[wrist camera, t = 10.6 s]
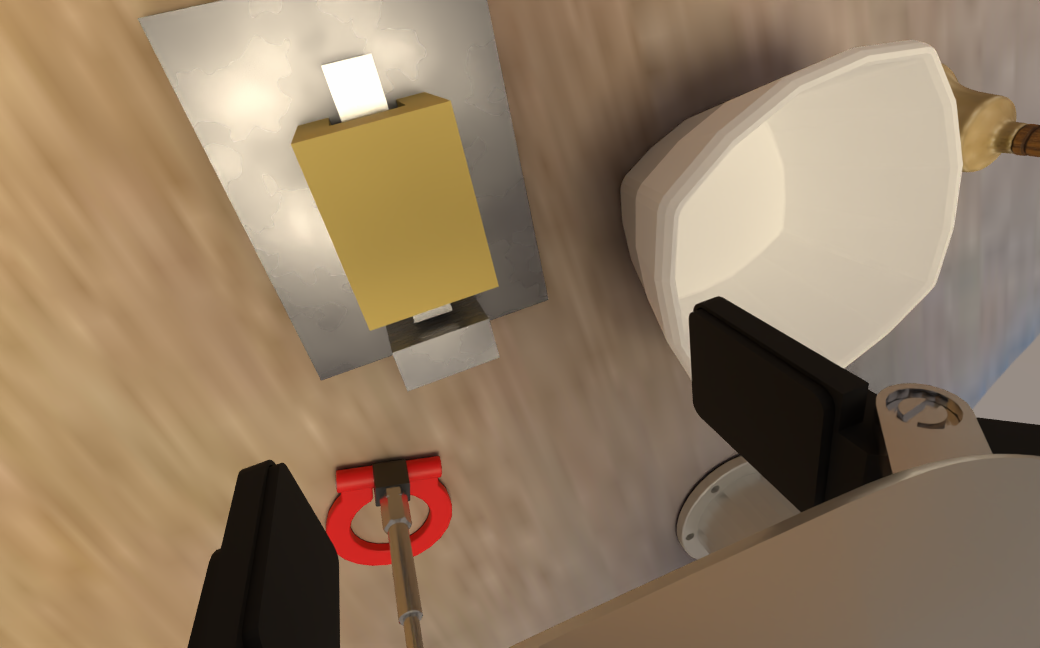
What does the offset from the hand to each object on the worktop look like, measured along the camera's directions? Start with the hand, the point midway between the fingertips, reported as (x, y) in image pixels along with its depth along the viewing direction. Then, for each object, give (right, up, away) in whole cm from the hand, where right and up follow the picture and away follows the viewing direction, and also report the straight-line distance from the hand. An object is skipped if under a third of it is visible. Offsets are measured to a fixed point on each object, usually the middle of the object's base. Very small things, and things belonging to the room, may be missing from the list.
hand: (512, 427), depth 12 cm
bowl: (+12, +10, +22) cm, 27 cm away
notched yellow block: (-6, +9, +15) cm, 18 cm away
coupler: (-7, +9, +15) cm, 19 cm away
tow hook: (-9, -11, +25) cm, 28 cm away
